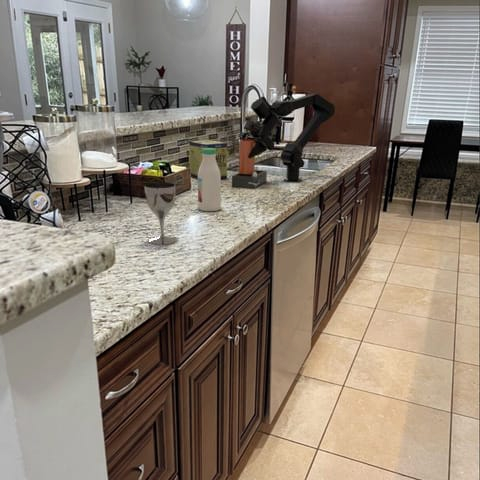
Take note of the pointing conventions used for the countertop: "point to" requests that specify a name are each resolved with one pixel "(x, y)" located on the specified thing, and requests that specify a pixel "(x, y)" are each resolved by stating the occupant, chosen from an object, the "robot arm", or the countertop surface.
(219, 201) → the milk bottle
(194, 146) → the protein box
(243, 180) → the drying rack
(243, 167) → the tumbler
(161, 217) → the wine glass
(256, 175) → the pacifier
